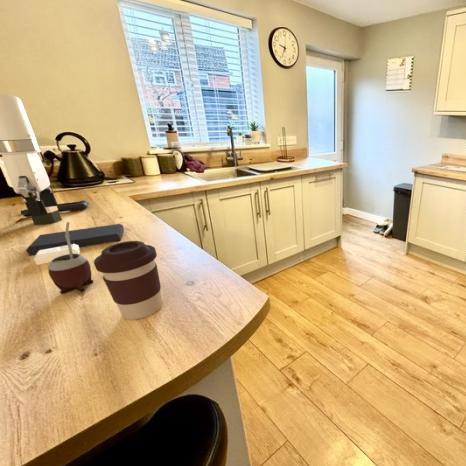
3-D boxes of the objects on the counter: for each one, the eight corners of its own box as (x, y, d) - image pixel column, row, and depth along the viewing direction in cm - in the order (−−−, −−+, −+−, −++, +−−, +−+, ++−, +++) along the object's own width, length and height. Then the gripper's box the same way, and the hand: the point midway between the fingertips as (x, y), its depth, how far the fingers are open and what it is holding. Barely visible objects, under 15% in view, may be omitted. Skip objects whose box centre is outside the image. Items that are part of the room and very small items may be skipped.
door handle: (29, 204, 125) (18, 211, 113) (89, 197, 136) (85, 203, 124) (32, 211, 126) (21, 219, 114) (91, 204, 137) (87, 210, 125)
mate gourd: (65, 299, 66) (39, 238, 60) (51, 289, 69) (25, 231, 63) (103, 283, 72) (83, 227, 66) (89, 275, 75) (68, 221, 70)
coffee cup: (144, 328, 57) (122, 260, 51) (102, 321, 59) (76, 256, 53) (180, 299, 66) (164, 239, 60) (142, 294, 68) (124, 235, 62)
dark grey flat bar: (28, 255, 85) (25, 248, 84) (41, 241, 95) (38, 234, 94) (120, 240, 96) (118, 233, 95) (124, 229, 106) (122, 223, 105)
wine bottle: (41, 226, 108) (5, 142, 96) (27, 223, 110) (-9, 141, 99) (67, 219, 115) (37, 140, 104) (54, 217, 117) (23, 140, 106)
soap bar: (39, 258, 84) (35, 250, 83) (80, 250, 89) (77, 242, 88) (36, 265, 80) (32, 256, 79) (79, 256, 85) (76, 248, 84)
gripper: (11, 145, 79) (37, 205, 85) (-20, 151, 65) (14, 222, 71) (48, 143, 82) (70, 201, 89) (26, 149, 69) (54, 217, 75)
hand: (45, 210), depth 80 cm, fingers open, 9 cm apart
